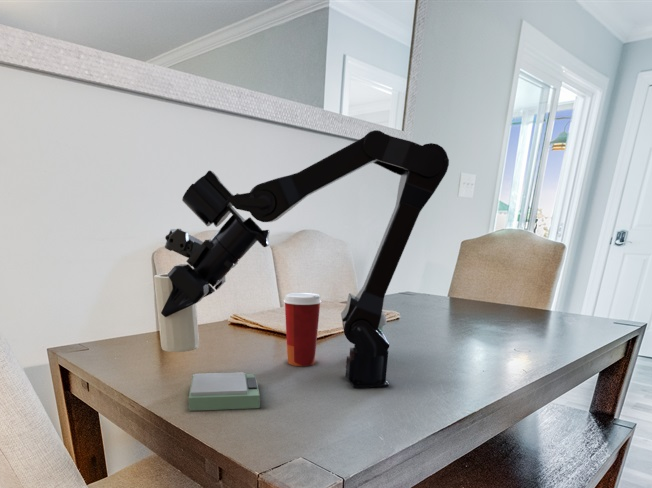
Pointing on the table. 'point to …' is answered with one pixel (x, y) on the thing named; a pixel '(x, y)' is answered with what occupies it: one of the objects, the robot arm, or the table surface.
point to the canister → (175, 320)
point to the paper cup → (301, 327)
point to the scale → (223, 391)
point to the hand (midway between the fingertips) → (169, 311)
